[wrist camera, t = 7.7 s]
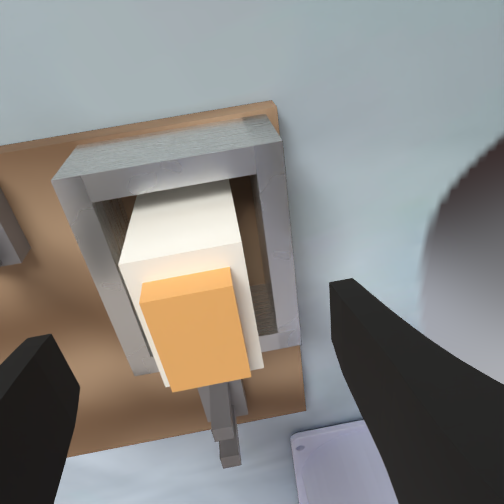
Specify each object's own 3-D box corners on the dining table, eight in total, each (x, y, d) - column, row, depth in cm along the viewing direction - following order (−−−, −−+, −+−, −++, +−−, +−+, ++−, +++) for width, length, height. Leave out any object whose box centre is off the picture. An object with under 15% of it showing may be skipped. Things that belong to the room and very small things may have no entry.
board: (301, 395, 23) (306, 410, 22) (51, 444, 22) (45, 461, 22) (271, 100, 14) (277, 106, 13) (-138, 169, 14) (-159, 180, 13)
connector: (245, 270, 17) (268, 389, 12) (172, 284, 17) (164, 410, 12) (226, 166, 14) (245, 259, 9) (140, 181, 14) (112, 284, 9)
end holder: (285, 294, 18) (301, 344, 15) (142, 321, 17) (134, 376, 15) (265, 113, 13) (282, 140, 11) (77, 145, 13) (50, 181, 11)
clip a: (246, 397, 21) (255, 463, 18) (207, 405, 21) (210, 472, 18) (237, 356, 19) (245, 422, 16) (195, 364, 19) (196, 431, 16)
